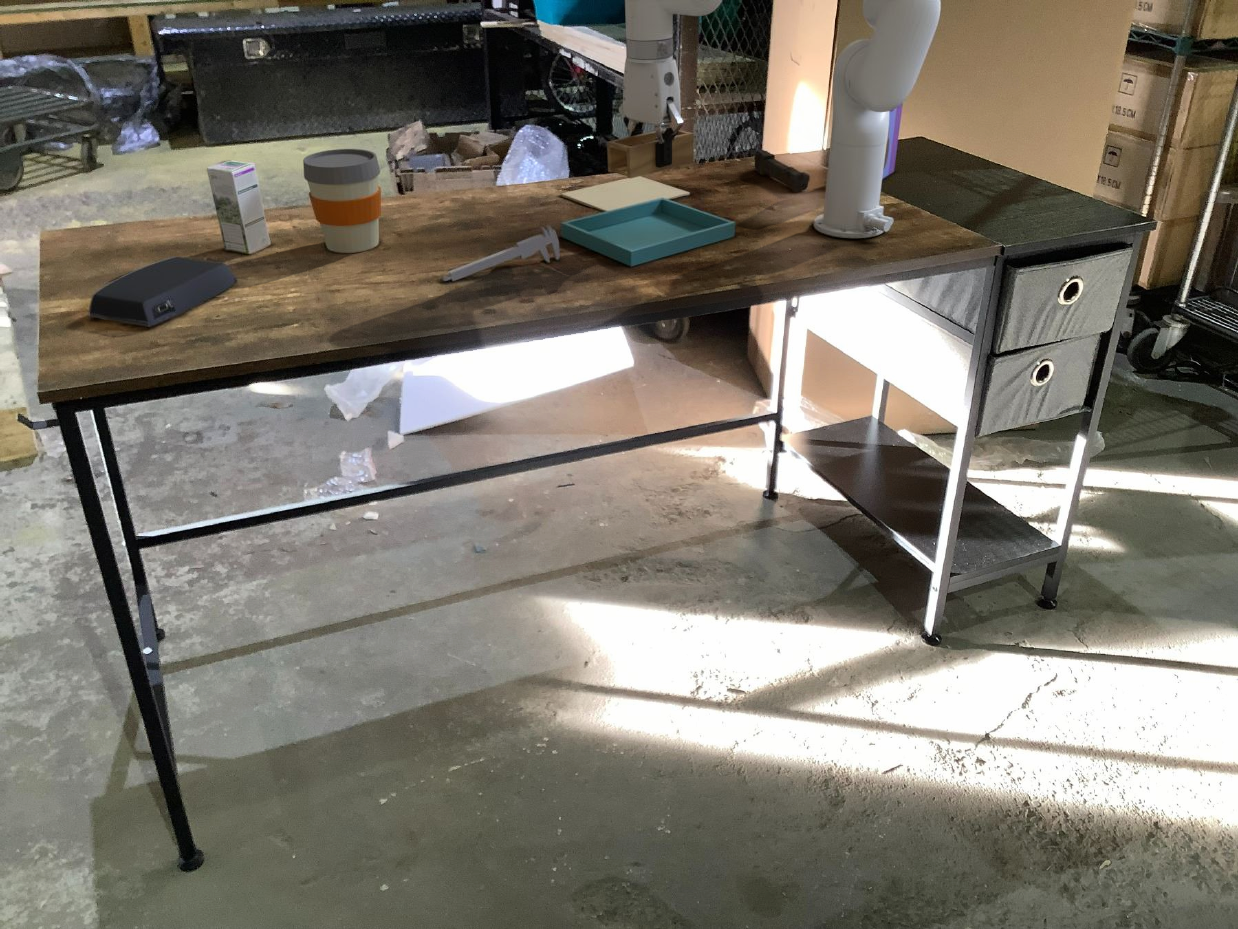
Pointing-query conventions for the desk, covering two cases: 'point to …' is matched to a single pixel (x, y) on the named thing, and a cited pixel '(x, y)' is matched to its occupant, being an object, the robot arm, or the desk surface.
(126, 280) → the hard drive
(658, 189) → the mat
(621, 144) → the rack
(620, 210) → the teal tray
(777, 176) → the hand tool
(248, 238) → the syrup box
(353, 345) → the desk surface
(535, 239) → the caliper
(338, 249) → the reusable coffee cup
